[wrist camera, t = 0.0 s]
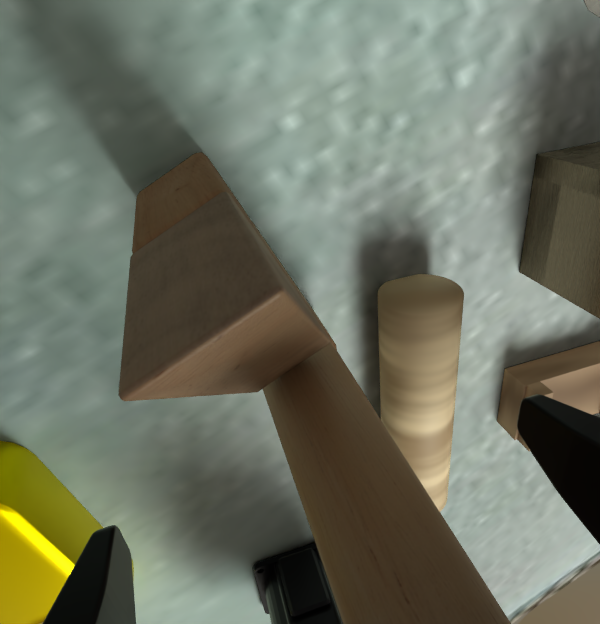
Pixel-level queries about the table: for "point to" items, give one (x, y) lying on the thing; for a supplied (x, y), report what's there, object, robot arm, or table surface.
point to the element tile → (36, 536)
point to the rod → (421, 372)
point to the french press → (593, 6)
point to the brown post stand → (288, 400)
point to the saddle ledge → (552, 384)
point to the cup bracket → (566, 225)
